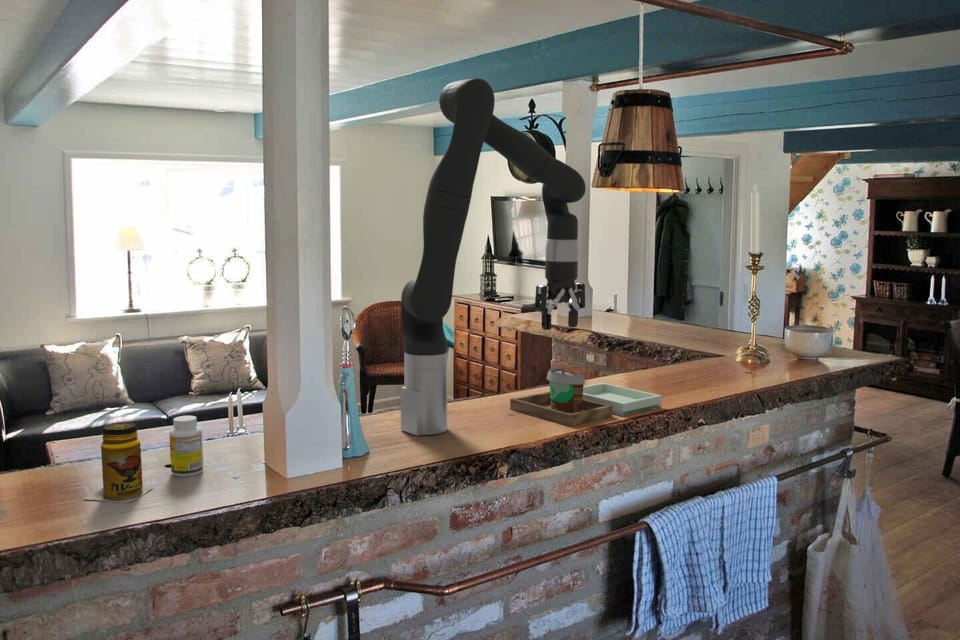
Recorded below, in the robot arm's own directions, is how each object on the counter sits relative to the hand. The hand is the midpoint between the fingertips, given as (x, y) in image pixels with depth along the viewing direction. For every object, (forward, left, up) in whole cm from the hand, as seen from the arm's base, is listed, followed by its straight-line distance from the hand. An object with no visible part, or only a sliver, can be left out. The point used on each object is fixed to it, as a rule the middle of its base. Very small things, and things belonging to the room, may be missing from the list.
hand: (559, 328), depth 195 cm
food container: (0, -1, -20) cm, 20 cm away
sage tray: (+16, -3, -20) cm, 26 cm away
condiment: (-98, +5, -20) cm, 100 cm away
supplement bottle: (-85, +9, -20) cm, 88 cm away
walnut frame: (0, -1, -20) cm, 20 cm away
